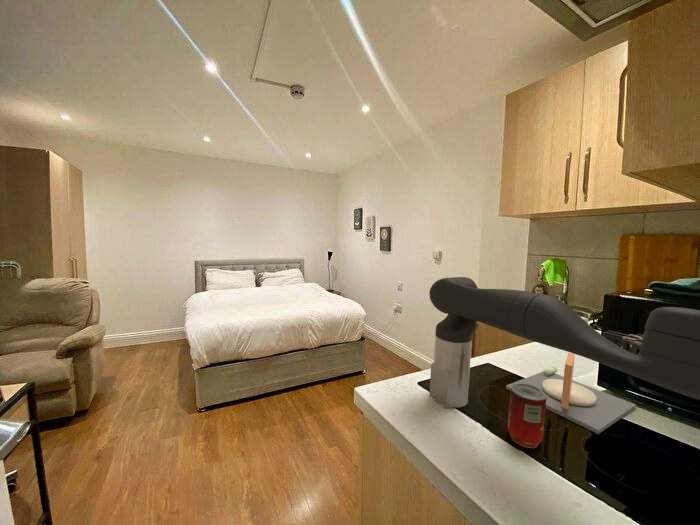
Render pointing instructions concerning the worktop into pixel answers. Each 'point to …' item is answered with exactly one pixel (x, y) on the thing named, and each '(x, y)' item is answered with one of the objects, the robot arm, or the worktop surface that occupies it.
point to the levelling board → (586, 416)
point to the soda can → (526, 414)
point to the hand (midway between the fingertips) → (604, 335)
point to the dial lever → (569, 388)
